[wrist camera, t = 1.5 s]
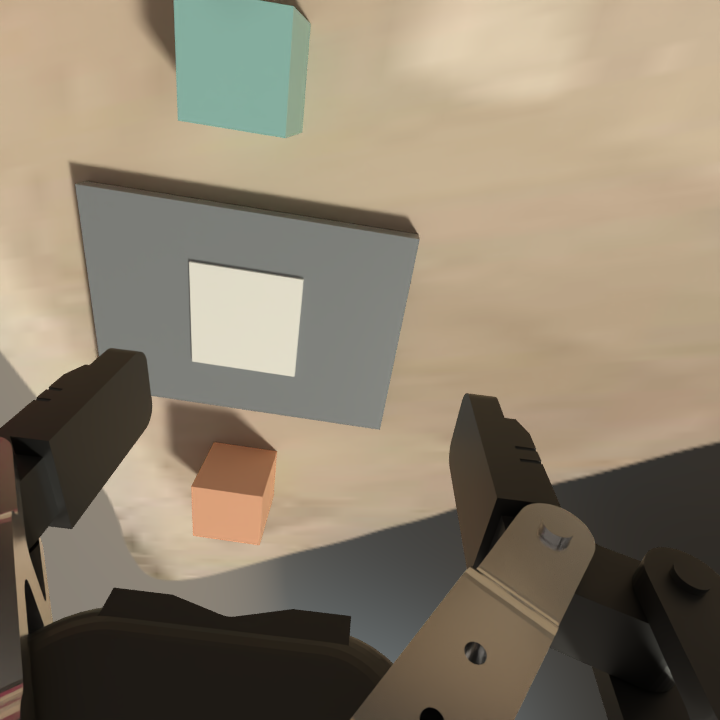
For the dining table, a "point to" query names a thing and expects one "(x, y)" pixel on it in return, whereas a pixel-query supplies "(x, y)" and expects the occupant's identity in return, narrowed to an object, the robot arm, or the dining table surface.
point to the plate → (248, 302)
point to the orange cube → (233, 493)
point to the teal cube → (241, 65)
